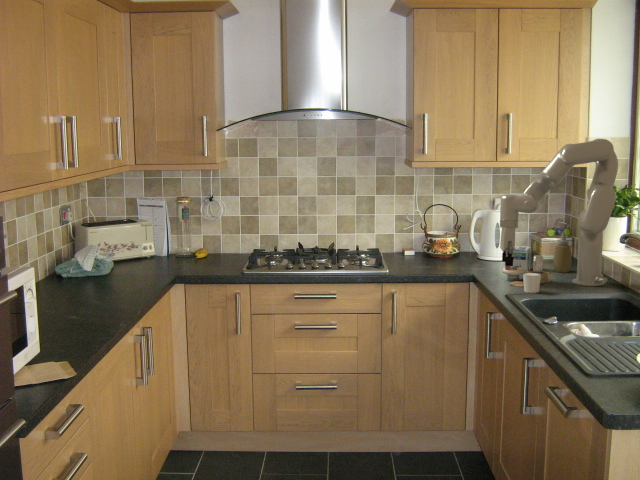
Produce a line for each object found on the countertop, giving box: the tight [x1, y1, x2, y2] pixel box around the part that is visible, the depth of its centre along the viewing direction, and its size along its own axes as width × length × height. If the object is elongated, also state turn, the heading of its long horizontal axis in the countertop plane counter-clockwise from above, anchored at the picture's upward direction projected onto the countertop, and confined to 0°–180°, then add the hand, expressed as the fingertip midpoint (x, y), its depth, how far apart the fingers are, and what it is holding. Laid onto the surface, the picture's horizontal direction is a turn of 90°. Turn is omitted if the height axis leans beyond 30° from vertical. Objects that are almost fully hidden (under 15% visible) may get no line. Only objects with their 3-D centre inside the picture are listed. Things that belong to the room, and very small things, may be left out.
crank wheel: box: [502, 266, 525, 275], centre depth 308 cm, size 9×9×8 cm
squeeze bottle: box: [553, 231, 573, 274], centre depth 325 cm, size 8×8×18 cm
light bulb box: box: [513, 245, 532, 273], centre depth 330 cm, size 11×7×11 cm, turn 155°
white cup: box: [522, 273, 541, 294], centre depth 287 cm, size 7×7×7 cm
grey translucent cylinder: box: [532, 254, 544, 273], centre depth 305 cm, size 4×4×11 cm
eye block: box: [526, 270, 551, 284], centre depth 306 cm, size 7×7×4 cm
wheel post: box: [506, 274, 521, 282], centre depth 309 cm, size 5×5×3 cm
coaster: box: [509, 280, 524, 288], centre depth 299 cm, size 9×9×1 cm
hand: (507, 263), depth 307 cm, fingers open, 9 cm apart
